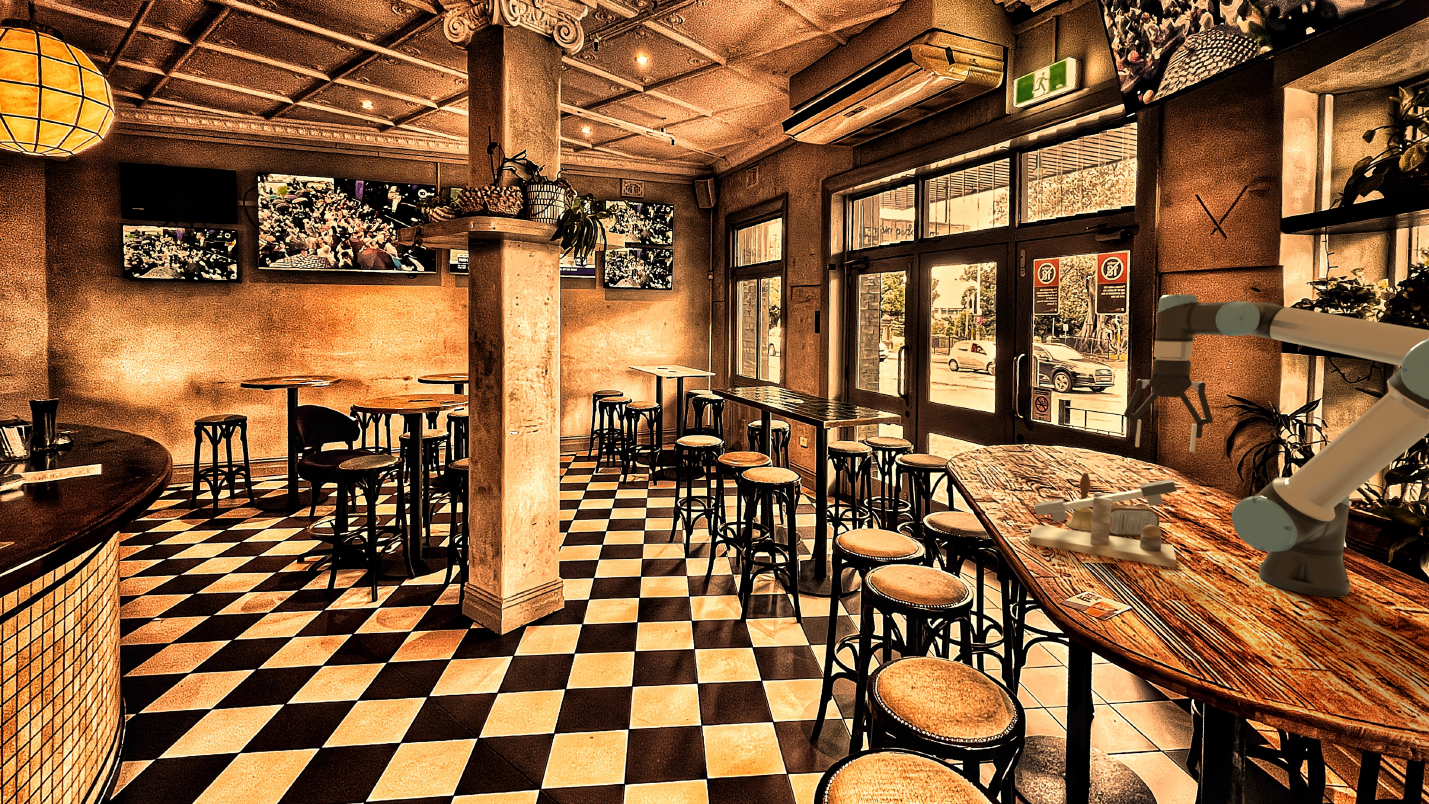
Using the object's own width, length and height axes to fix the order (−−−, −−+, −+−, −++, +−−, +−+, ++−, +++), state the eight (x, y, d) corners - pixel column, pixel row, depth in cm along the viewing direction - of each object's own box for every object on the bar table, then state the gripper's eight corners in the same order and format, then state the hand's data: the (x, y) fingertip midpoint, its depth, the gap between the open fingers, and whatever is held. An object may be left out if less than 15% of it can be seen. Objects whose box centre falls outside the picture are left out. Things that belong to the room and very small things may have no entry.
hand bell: (1103, 532, 180) (1107, 477, 178) (1071, 530, 182) (1075, 475, 180) (1092, 523, 188) (1096, 470, 186) (1061, 521, 190) (1065, 469, 188)
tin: (1153, 534, 178) (1156, 504, 177) (1160, 537, 175) (1162, 508, 174) (1097, 532, 180) (1099, 503, 179) (1102, 536, 177) (1104, 506, 176)
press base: (1172, 552, 164) (1176, 499, 162) (1175, 567, 154) (1180, 511, 152) (1033, 531, 181) (1036, 483, 179) (1028, 543, 171) (1032, 492, 169)
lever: (1179, 498, 158) (1172, 478, 159) (1180, 501, 155) (1173, 481, 156) (1041, 520, 176) (1035, 503, 176) (1040, 524, 173) (1034, 506, 173)
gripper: (1230, 359, 152) (1220, 450, 154) (1116, 356, 164) (1109, 441, 167) (1234, 361, 145) (1225, 456, 148) (1116, 358, 158) (1109, 446, 160)
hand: (1164, 448), depth 157 cm, fingers open, 10 cm apart
